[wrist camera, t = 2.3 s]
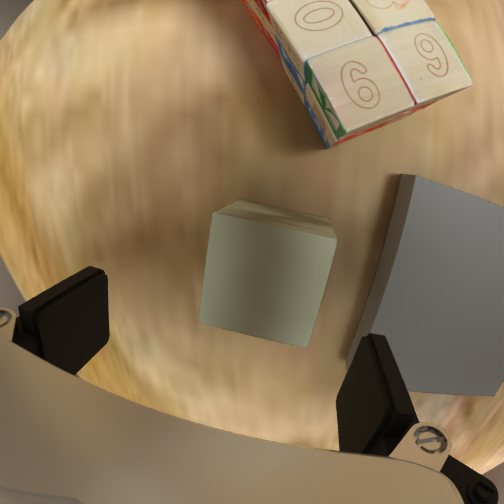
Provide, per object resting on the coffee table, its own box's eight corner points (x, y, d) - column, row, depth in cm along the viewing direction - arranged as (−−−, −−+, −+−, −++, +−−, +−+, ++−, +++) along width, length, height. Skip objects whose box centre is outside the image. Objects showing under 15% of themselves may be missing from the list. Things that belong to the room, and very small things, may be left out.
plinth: (541, 227, 16) (563, 235, 13) (481, 376, 20) (494, 395, 18) (401, 173, 18) (416, 175, 15) (345, 359, 22) (348, 383, 19)
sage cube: (329, 218, 20) (338, 240, 14) (308, 301, 22) (306, 348, 16) (239, 199, 20) (212, 213, 15) (225, 282, 22) (198, 321, 17)
